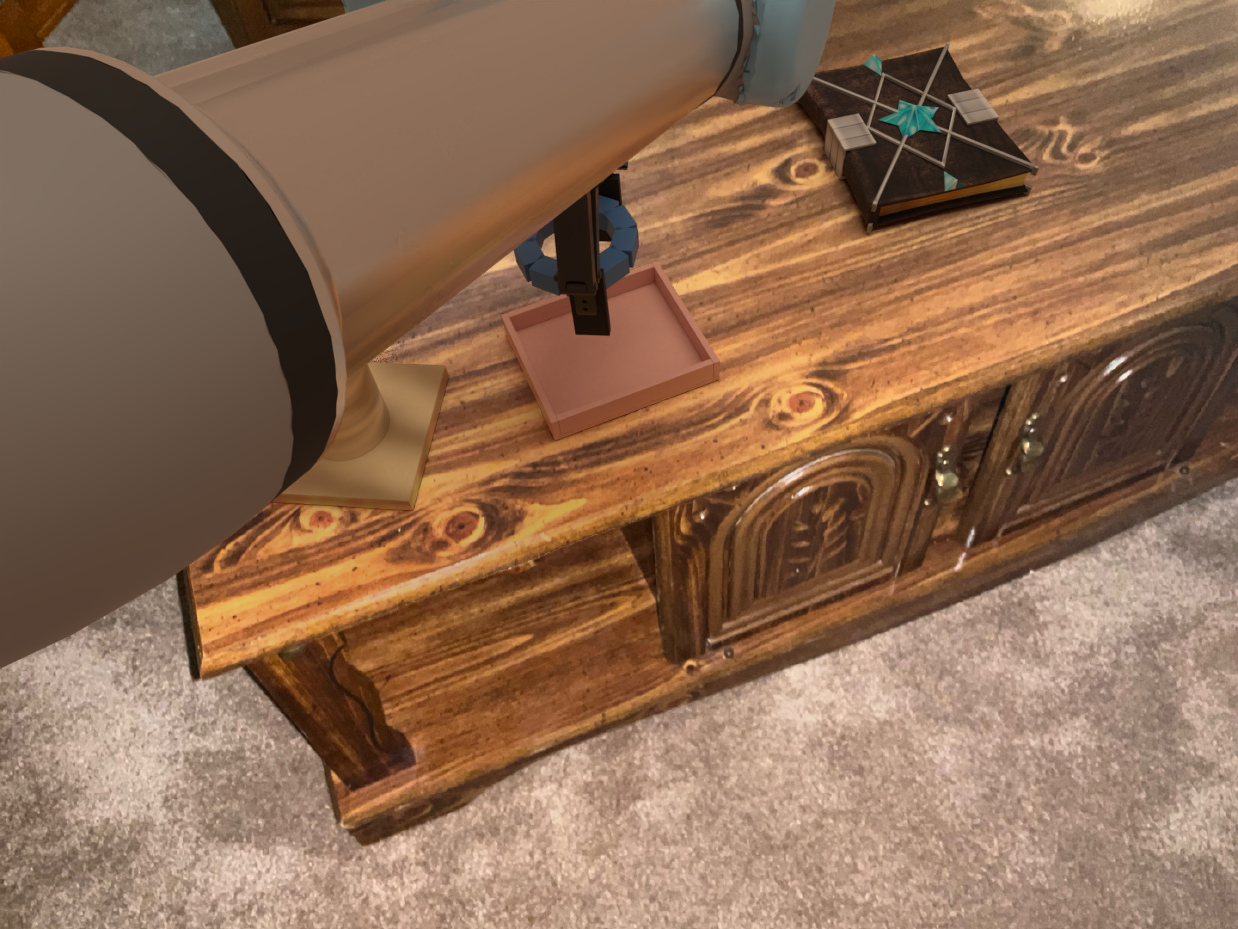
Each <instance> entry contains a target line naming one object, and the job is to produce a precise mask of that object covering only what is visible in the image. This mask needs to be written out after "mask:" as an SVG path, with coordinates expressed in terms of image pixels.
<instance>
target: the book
mask: <svg viewBox="0 0 1238 929" xmlns="http://www.w3.org/2000/svg"><path fill="white" fill-rule="evenodd" d="M950 44H951V42H947V41H946V42H945V44H944V46H941V47H936V48H932V49H927V50H924V51H920V52H915V53H912V54H911V53H910V54H907V55H903V56H897V57H892V58H887V59H880V57H879V56H877V55H876V54H875V53H873V54H872V55H871V56H869V57H868V59H867V60H866V61H864V63H863V64H858V65H852V66H847V67H841V68H840V67H839V68H835V69H829V70H820V71H816V73H815V75H814V77H813V79H812V81H811V83H810V85H809V87H808V88H807V90H806V91H805V93H804V94H803V96H802V97H801V98H800V99H799V100H798V101H796V102H795V103H798V104H800V105H801V106H802V108H803V109H804V110H805V112H806V113H807V114H808V116H809V117H810V118H811V120H812V121H813V123H815V125H816V126H817V128H818V129H819V130H820V132H821V133H822V135H823V137H824V144H823V152H824V154H825V155H826V157H827V159H828V161H829V163H830V164H831V166H832V168H833V170H834V172H835V174H836V176H837V177H838V179H839V180H840V181H841V180H845V179H846V182H847V183H848V185H849V188H850V189H851V191H852V194H853V196H854V198H855V201H856V203H857V205H858V209H859V211H860V213H861V215H862V217H863V220H864V222H865V225H866V226H867V227H866V234H871V232H872V230H873V228H874V227H875V228H876V227H880V226H884V225H888V224H893V223H896V222H899V221H902V220H906V219H910V218H914V217H917V216H922V215H925V214H926V215H927V214H930V213H931V214H932V213H935V212H940V211H943V210H948V209H952V208H958V207H962V206H966V205H970V204H975V203H980V202H983V201H989V200H994V199H999V198H1005V197H1009V196H1010V197H1011V196H1015V195H1019V194H1024V195H1026V196H1029V195H1030V194H1031V192H1032V188H1033V185H1031V184H1029V183H1027V184H1025V181H1026V179H1027V176H1028V174H1030V175H1031V176H1034V177H1036V175H1038V172H1039V169H1040V165H1037V164H1034V163H1032V161H1031V160H1030V159H1029V157H1027V155H1026V154H1025V153H1024V152H1023V151H1022V150H1021V149H1020V147H1019V146H1018V145H1017V144H1016V143H1015V141H1013V140H1012V138H1011V137H1010V136H1009V135H1008V133H1007V132H1006V131H1005V130H1004V129H1003V127H1002V125H1001V124H999V122H998V121H999V118H1000V116H999V115H998V113H997V112H996V111H995V109H994V108H993V106H992V105H991V104H990V102H989V101H988V99H986V97H985V96H984V94H983V93H982V92H981V90H980V88H974V89H972V87H971V86H970V85H969V84H968V82H967V81H966V80H965V78H964V77H963V74H962V72H961V71H960V69H959V67H958V66H957V64H956V62H955V60H954V58H953V56H952V55H951V52H950V51H949V49H950Z"/></svg>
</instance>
